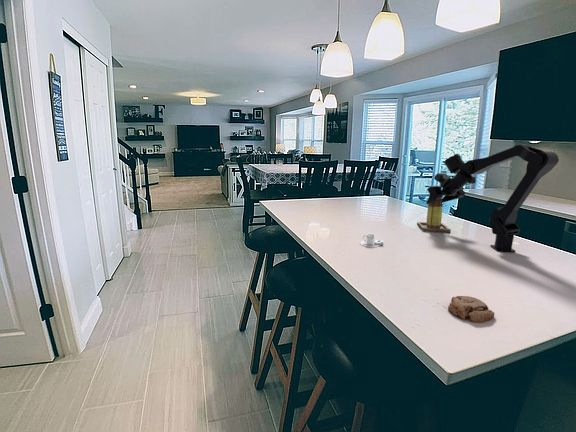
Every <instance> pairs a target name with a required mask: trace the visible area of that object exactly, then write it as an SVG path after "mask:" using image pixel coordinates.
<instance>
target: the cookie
mask: <svg viewBox="0 0 576 432" xmlns="http://www.w3.org/2000/svg"><path fill="white" fill-rule="evenodd" d="M450 301H451V302H450V303H449V305H448V307H447V310H448V311H450V312H451V314H454V315H455V317H456V316H457V317H458V318H460V319H462V320H463V321H466V320H467V321H469V322H473V323H486V322H489V321H490V320H492V319H494V317H495V312H494V311H493V310H491V309H489V306H488V305H487V304H486V303H485V302H483V301H482V300H481V299H479V298H477V297H473V296H469V295H457V296H452V297H451V300H450Z"/></svg>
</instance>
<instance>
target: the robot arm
mask: <svg viewBox="0 0 576 432" xmlns="http://www.w3.org/2000/svg"><path fill="white" fill-rule="evenodd" d="M516 158H520V159H521V160H523V161H525V162H527V164H526V169H525V174H524V175H523V177H522V178H521V180H520V181H519V183H518V184H517V186H516V187H515V189H514V191H513V192H512V194H511V195H510V196H509V198H508V200H507V201H506V202H505V204H504V205H503V206H501V207H496V208H494V209H493V212H492V213H491V215H489V220H488V221H489V225H490V227H491V228H490V229H491V232H492V234H493V235H495V240H494V244H490V247H491V248H493V250H495V251H497V252H508V253H510V252H511V253H516V250H515V249H513V243H514V237H515V235H518V234H519V233H520V232H521V228H520V227H519V226H518V224H517V223H516V221H517V219H518V212H519V210H520V208H521V207H522V206H523V204H524V203H525V201H526V199H527V198H528V197H529V195H530V194H531V192H532V191H533V189H534V188H535V187H536V185H537V184H538V182H539V181H540V179H542V178H544V176H546V175H547V174H549V172H551V171H552V170H553V169H554V168H555V167H556V165H558V163H559V160H560V159H559V156H558V154H557V153H556V152H554V151H547V150H546V151H545V150H542V149H538V148H536V147H532V146H531V145H529V144H523V143H518V144H516V145H514V146H512V147H510V148H507V149H505V150H502V151H499V152H496V153H494V154H492V155H489V156H486V157H480V158H475V159H469V160H468V161H466V162H464V160H463V159H462V158H461V155H460V154H459V153H455V154H454V155H452V156H450V157H448V158H446V159H445V160H444V162H443V164H444V165H445V167H446V168H447V170H448V171H449V172H450V174H453V175H454V176H453V177H451V176H449V175H448V174H447V173H445V172H438V173H436V174H435V175H434V177H433V179H434V180H435V182H438V183H439V185H438V186H441V190H440V189H439V187H438V186H433V185H430V186H429V187H428V188H427V192H428V193H429V196H428V198H427V200H426V202H425V203H426V205H428V204H430V203H433V202H436V201H439V199H442V204H444V203H447V202H451V201H454V200H458V199H461V198H463V197H465V194H466V192H465V190H464V187H465V186H466V185H467V184H470V185H471V184H476V177H475V176H473V175H481V174H483V173H486V172H487V171H489V170H490V169H491V168H493V167H495V166H497V165H500V164H503V163H505V162H509V161H511V160H514V159H516Z"/></svg>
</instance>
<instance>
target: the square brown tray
mask: <svg viewBox="0 0 576 432" xmlns="http://www.w3.org/2000/svg"><path fill="white" fill-rule="evenodd" d="M416 226H417V227H418V228H419V229H420V230H421V231H422V232H426V231H428V232H429V233H430V232H431V233H443V232H445V233H447V234H451V228H449V227H448V226H447V225H445V224H444V223H443V222H441V227H440V228H428V227H427V221H426V222H425V221H422V222H421V221H420V222H419V221H417V222H416Z"/></svg>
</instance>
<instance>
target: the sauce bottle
mask: <svg viewBox="0 0 576 432" xmlns="http://www.w3.org/2000/svg"><path fill="white" fill-rule="evenodd" d="M432 186H438V187H439V189H440V190H442V187H441V186H440V185H437V184H435V185H433V184H432ZM443 204H444V203H442V198H441V199H439V201H436V202H433V203H430V204H427V216H426V222H427V227H428V228H440V227H441V223H442V218H443V217H442V216H443Z"/></svg>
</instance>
